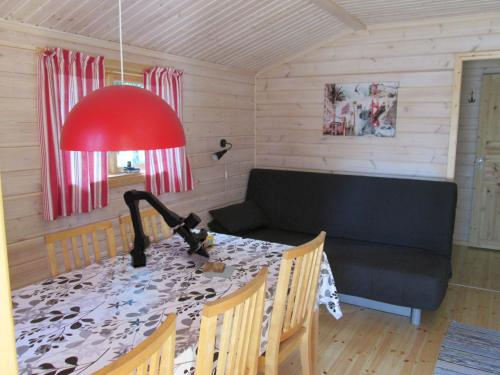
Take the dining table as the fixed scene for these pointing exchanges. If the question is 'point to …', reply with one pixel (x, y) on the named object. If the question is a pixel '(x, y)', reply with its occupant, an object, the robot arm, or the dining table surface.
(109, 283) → the dining table surface
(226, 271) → the mat
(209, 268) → the walnut block
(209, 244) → the candy box
